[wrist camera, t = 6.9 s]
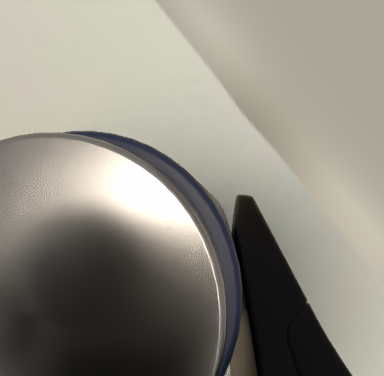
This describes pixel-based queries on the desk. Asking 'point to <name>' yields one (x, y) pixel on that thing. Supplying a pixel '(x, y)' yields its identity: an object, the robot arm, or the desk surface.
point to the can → (111, 262)
